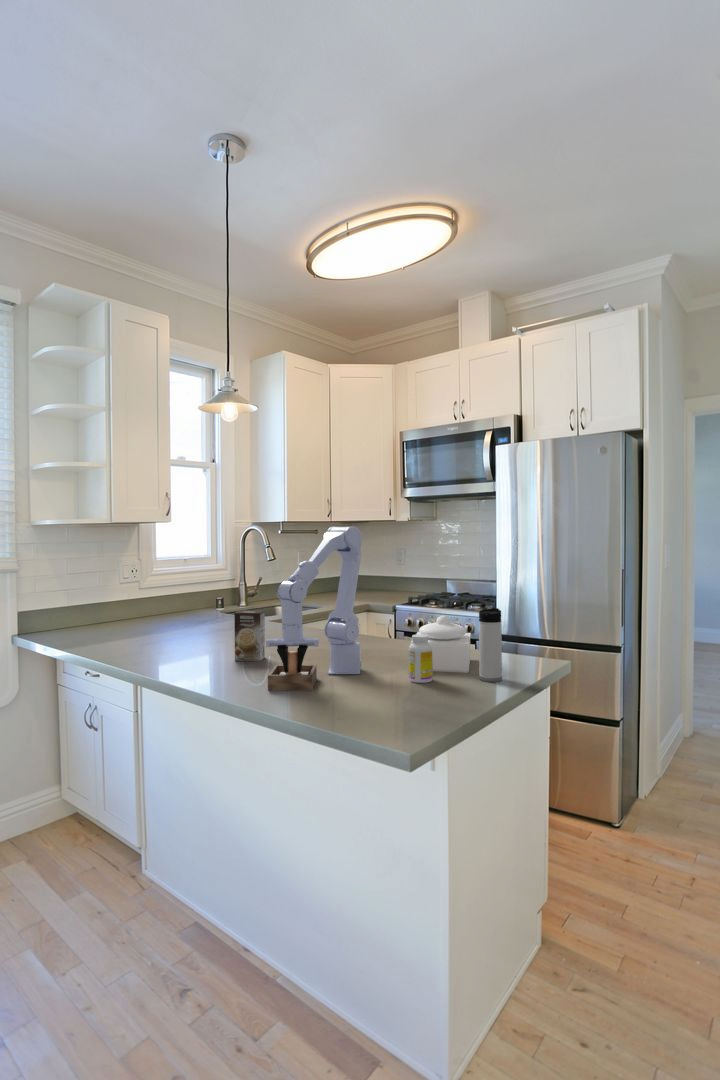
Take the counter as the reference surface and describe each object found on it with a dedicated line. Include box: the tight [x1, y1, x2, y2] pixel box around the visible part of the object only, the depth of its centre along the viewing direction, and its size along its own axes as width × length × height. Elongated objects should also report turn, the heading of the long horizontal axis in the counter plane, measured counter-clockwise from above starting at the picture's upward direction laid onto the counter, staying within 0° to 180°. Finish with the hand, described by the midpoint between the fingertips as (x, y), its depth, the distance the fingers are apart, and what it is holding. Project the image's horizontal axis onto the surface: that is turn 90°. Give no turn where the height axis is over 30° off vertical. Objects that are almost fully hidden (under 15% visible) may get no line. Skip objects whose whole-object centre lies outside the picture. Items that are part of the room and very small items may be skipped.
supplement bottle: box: [408, 633, 434, 684], centre depth 164 cm, size 7×7×13 cm
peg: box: [287, 650, 298, 675], centre depth 162 cm, size 3×3×8 cm
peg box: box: [267, 664, 318, 691], centre depth 162 cm, size 12×12×4 cm
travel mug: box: [478, 607, 503, 683], centre depth 164 cm, size 6×7×20 cm
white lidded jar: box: [409, 614, 472, 674], centre depth 183 cm, size 18×18×16 cm
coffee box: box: [233, 609, 266, 662], centre depth 194 cm, size 9×6×16 cm
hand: (292, 672), depth 162 cm, fingers closed on peg, 3 cm apart
